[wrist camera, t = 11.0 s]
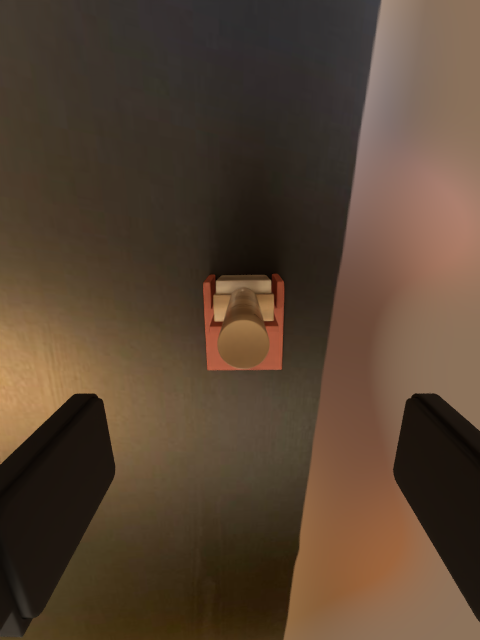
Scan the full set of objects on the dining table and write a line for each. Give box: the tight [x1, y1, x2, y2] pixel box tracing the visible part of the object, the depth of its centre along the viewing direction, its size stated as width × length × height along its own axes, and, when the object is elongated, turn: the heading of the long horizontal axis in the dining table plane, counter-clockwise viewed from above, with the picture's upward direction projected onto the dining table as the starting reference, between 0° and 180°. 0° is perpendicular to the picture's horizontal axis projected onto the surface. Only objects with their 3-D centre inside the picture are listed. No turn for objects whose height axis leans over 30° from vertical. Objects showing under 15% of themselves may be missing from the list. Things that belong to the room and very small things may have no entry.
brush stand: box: [203, 274, 284, 370], centre depth 26 cm, size 10×8×7 cm
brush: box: [213, 275, 274, 369], centre depth 18 cm, size 15×4×3 cm
